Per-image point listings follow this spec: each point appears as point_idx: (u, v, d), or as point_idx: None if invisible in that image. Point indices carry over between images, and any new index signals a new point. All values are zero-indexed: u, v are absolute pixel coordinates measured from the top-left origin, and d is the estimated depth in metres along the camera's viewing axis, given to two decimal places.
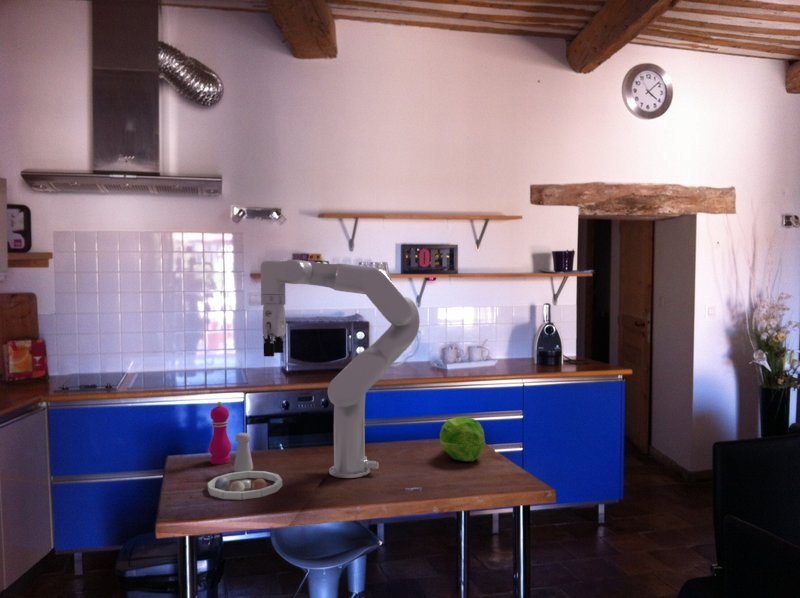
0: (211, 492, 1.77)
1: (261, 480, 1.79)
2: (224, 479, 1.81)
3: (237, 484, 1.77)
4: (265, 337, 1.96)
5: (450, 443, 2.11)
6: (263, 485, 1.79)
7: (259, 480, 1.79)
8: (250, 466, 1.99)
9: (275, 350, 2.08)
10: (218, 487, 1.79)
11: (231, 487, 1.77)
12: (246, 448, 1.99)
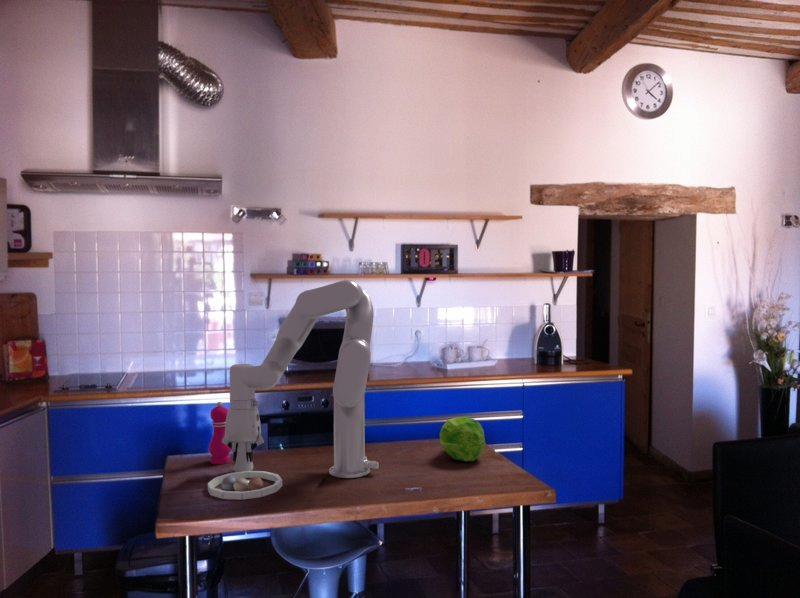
0: (211, 492, 1.77)
1: (254, 477, 1.82)
2: None
3: None
4: None
5: (450, 443, 2.11)
6: (256, 477, 1.81)
7: (252, 478, 1.82)
8: (250, 466, 1.99)
9: None
10: (227, 481, 1.81)
11: (237, 479, 1.81)
12: (246, 448, 1.98)
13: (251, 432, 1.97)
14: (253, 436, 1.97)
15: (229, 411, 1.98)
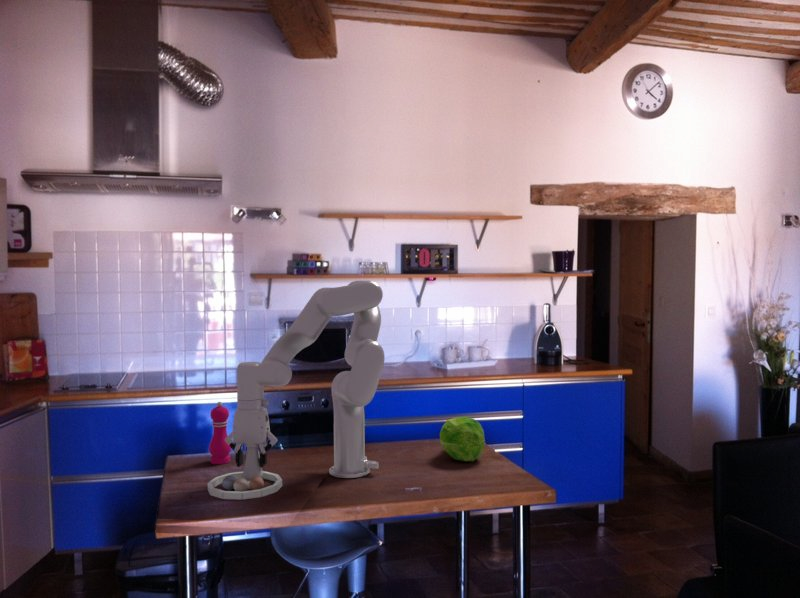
0: (211, 492, 1.77)
1: None
2: None
3: None
4: (272, 445, 1.88)
5: (450, 443, 2.11)
6: (258, 476, 1.82)
7: None
8: (260, 473, 1.88)
9: (240, 463, 1.89)
10: (228, 478, 1.82)
11: (237, 479, 1.81)
12: (256, 454, 1.88)
13: (260, 434, 1.86)
14: (262, 438, 1.87)
15: (237, 411, 1.87)
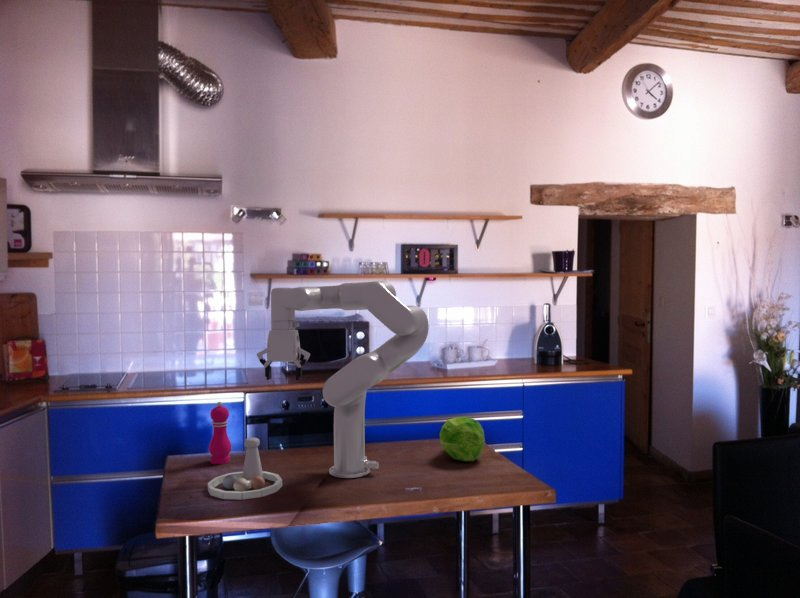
0: (211, 492, 1.77)
1: None
2: None
3: None
4: (306, 360, 2.07)
5: (450, 443, 2.11)
6: (260, 476, 1.84)
7: None
8: (259, 473, 1.88)
9: (269, 377, 2.08)
10: (229, 476, 1.83)
11: (237, 479, 1.81)
12: (255, 454, 1.88)
13: (292, 352, 2.05)
14: (294, 355, 2.05)
15: (270, 332, 2.06)
